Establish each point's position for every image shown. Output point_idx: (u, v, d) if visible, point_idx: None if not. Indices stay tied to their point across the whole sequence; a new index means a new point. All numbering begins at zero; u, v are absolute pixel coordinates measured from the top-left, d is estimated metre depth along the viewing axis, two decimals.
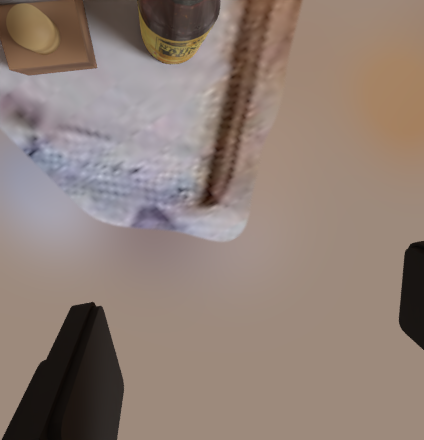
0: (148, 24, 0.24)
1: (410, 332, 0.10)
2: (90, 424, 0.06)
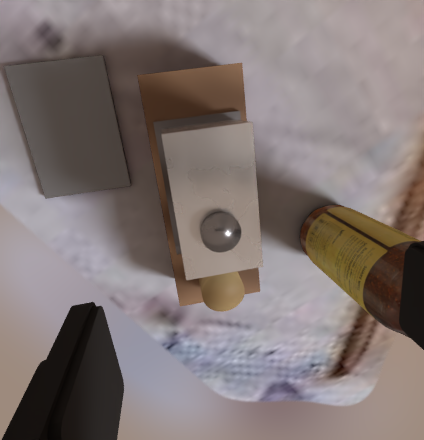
0: (373, 315, 0.22)
1: (410, 332, 0.10)
2: (90, 424, 0.06)
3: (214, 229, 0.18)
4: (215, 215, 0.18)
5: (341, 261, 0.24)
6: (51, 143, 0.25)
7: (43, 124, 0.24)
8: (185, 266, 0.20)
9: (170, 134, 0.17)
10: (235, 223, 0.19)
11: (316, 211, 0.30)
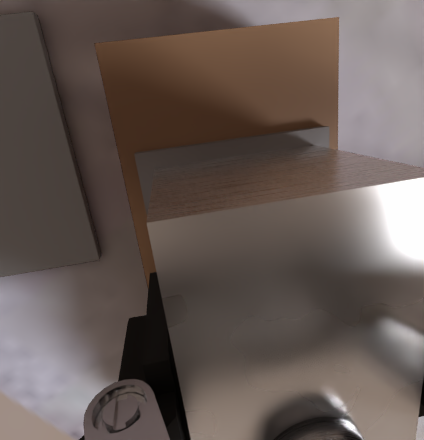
0: None
1: None
2: None
3: None
4: None
5: None
6: None
7: None
8: None
9: (179, 221, 0.05)
10: None
11: None
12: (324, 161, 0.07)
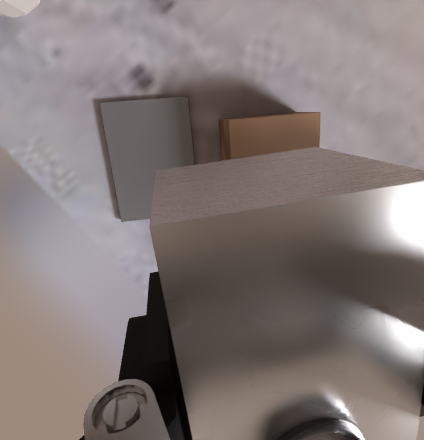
0: None
1: None
2: None
3: None
4: None
5: None
6: (133, 172, 0.27)
7: (128, 155, 0.27)
8: None
9: (181, 225, 0.05)
10: None
11: None
12: (325, 163, 0.07)
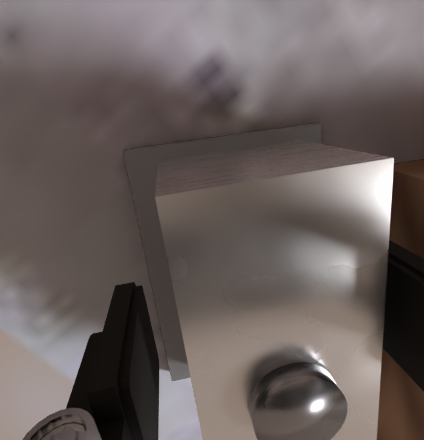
0: None
1: None
2: (143, 385, 0.07)
3: (286, 412, 0.08)
4: (290, 383, 0.07)
5: None
6: None
7: None
8: None
9: (180, 196, 0.06)
10: (336, 396, 0.08)
11: None
12: (302, 152, 0.09)
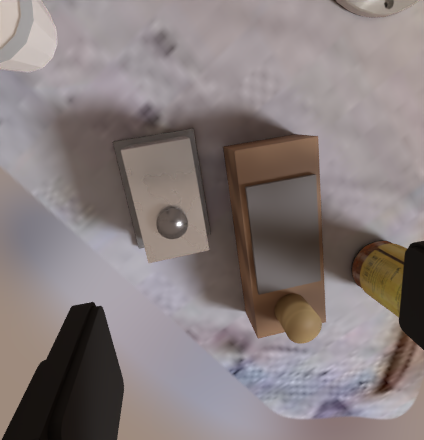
0: None
1: (410, 332, 0.10)
2: (90, 424, 0.06)
3: (166, 221, 0.24)
4: (166, 210, 0.24)
5: None
6: None
7: None
8: (147, 251, 0.25)
9: (127, 150, 0.23)
10: (182, 215, 0.24)
11: (367, 247, 0.34)
12: (174, 139, 0.25)
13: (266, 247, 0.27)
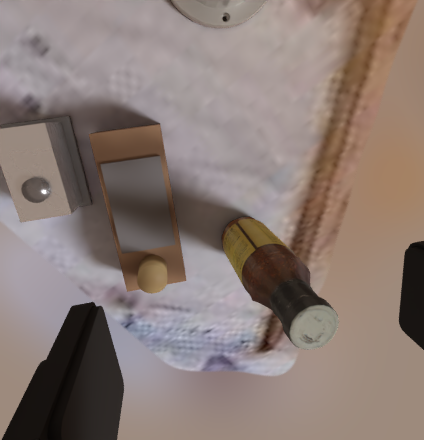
0: (249, 293, 0.32)
1: (410, 332, 0.10)
2: (90, 424, 0.06)
3: (29, 188, 0.30)
4: (28, 179, 0.30)
5: (234, 258, 0.34)
6: None
7: None
8: (18, 213, 0.32)
9: None
10: (42, 184, 0.30)
11: (232, 222, 0.40)
12: None
13: (123, 214, 0.34)
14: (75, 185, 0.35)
